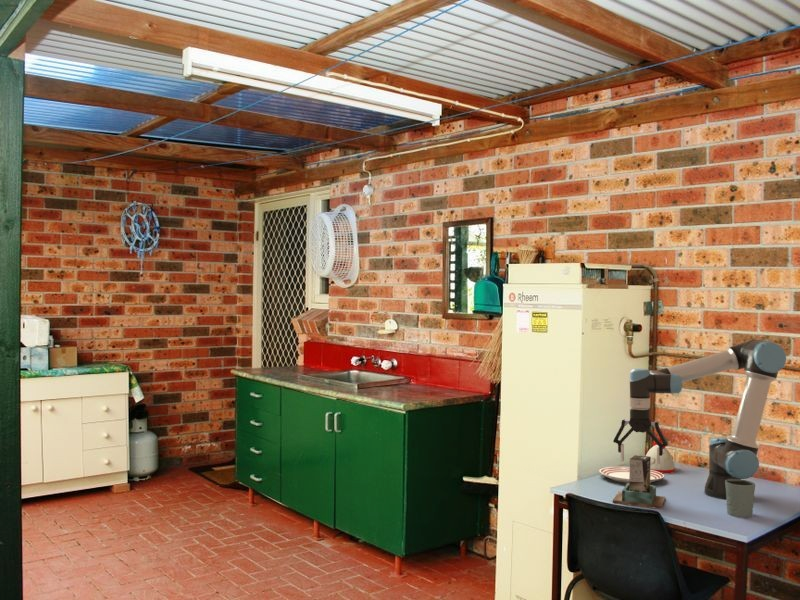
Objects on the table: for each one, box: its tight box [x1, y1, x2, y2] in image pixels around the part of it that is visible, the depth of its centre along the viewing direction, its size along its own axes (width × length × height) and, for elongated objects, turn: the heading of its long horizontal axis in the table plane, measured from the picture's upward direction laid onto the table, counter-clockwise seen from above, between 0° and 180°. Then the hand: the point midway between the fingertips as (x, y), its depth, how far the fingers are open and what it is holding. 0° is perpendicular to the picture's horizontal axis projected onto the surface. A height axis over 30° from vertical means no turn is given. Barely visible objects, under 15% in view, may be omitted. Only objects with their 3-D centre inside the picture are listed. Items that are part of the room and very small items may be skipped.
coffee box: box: [629, 454, 651, 493], centre depth 291 cm, size 9×6×16 cm
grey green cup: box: [725, 479, 756, 519], centre depth 273 cm, size 10×10×12 cm
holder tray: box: [612, 483, 666, 509], centre depth 291 cm, size 18×15×5 cm
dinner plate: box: [599, 466, 665, 484], centre depth 327 cm, size 28×27×3 cm
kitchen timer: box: [645, 437, 676, 474], centre depth 344 cm, size 14×14×15 cm
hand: (640, 462), depth 291 cm, fingers open, 13 cm apart
